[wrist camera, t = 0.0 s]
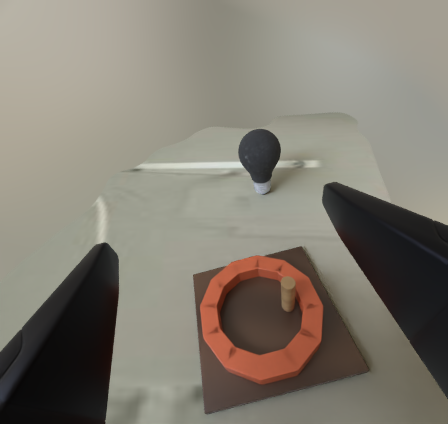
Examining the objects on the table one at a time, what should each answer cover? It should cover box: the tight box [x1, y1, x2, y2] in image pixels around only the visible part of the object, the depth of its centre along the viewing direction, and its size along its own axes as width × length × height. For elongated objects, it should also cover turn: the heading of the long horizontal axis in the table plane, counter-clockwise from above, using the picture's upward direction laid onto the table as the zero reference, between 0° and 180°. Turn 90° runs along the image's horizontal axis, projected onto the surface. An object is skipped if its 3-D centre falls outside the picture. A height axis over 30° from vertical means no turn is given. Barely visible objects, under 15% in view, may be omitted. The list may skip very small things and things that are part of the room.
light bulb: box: [238, 129, 281, 194], centre depth 32 cm, size 6×6×10 cm
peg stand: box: [193, 246, 369, 414], centre depth 21 cm, size 12×13×5 cm
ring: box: [200, 256, 323, 385], centre depth 21 cm, size 11×11×2 cm
